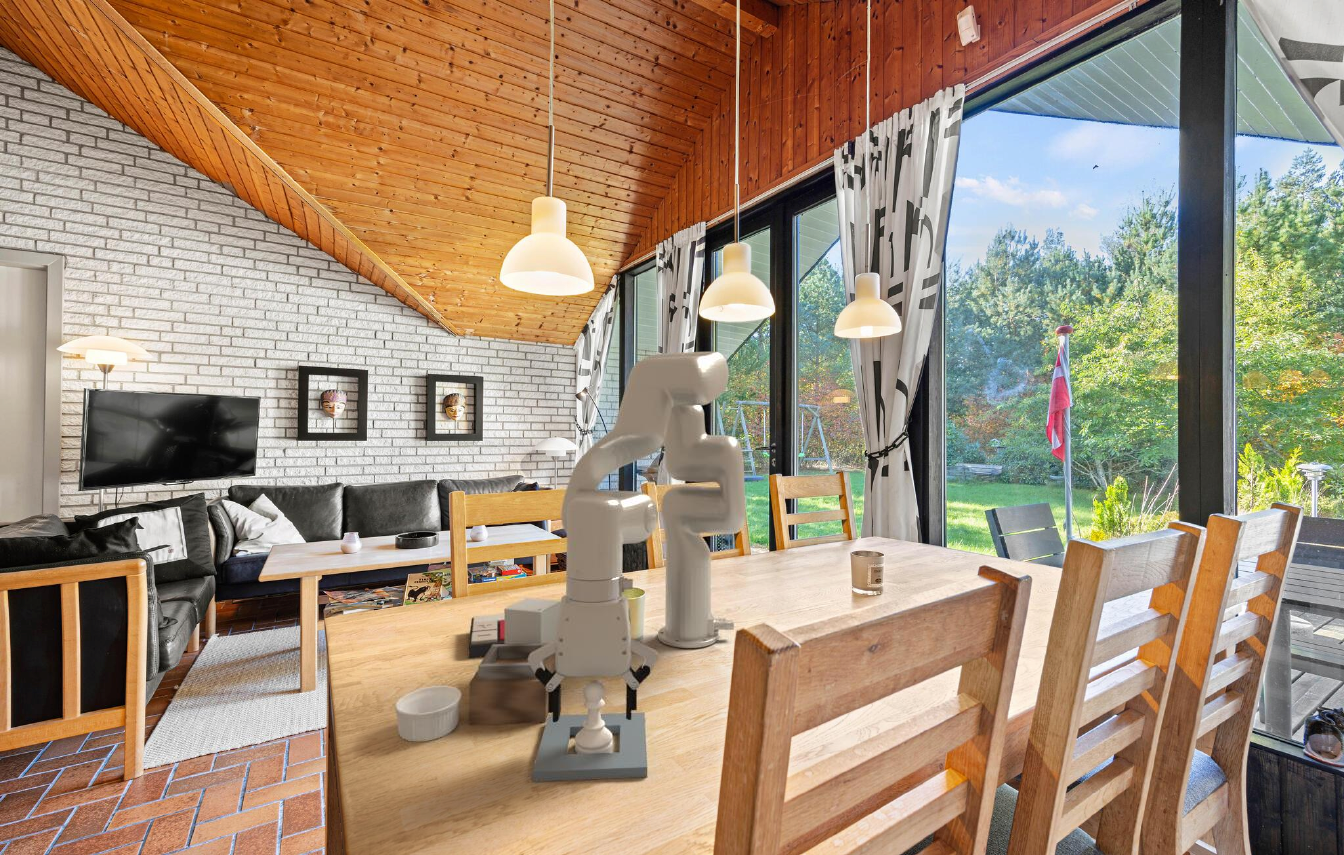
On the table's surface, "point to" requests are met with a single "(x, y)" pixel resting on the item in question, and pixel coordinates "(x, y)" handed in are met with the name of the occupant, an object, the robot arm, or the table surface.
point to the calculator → (485, 634)
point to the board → (596, 765)
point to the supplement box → (531, 621)
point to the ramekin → (428, 713)
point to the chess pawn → (593, 723)
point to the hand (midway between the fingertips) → (592, 716)
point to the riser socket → (508, 687)
